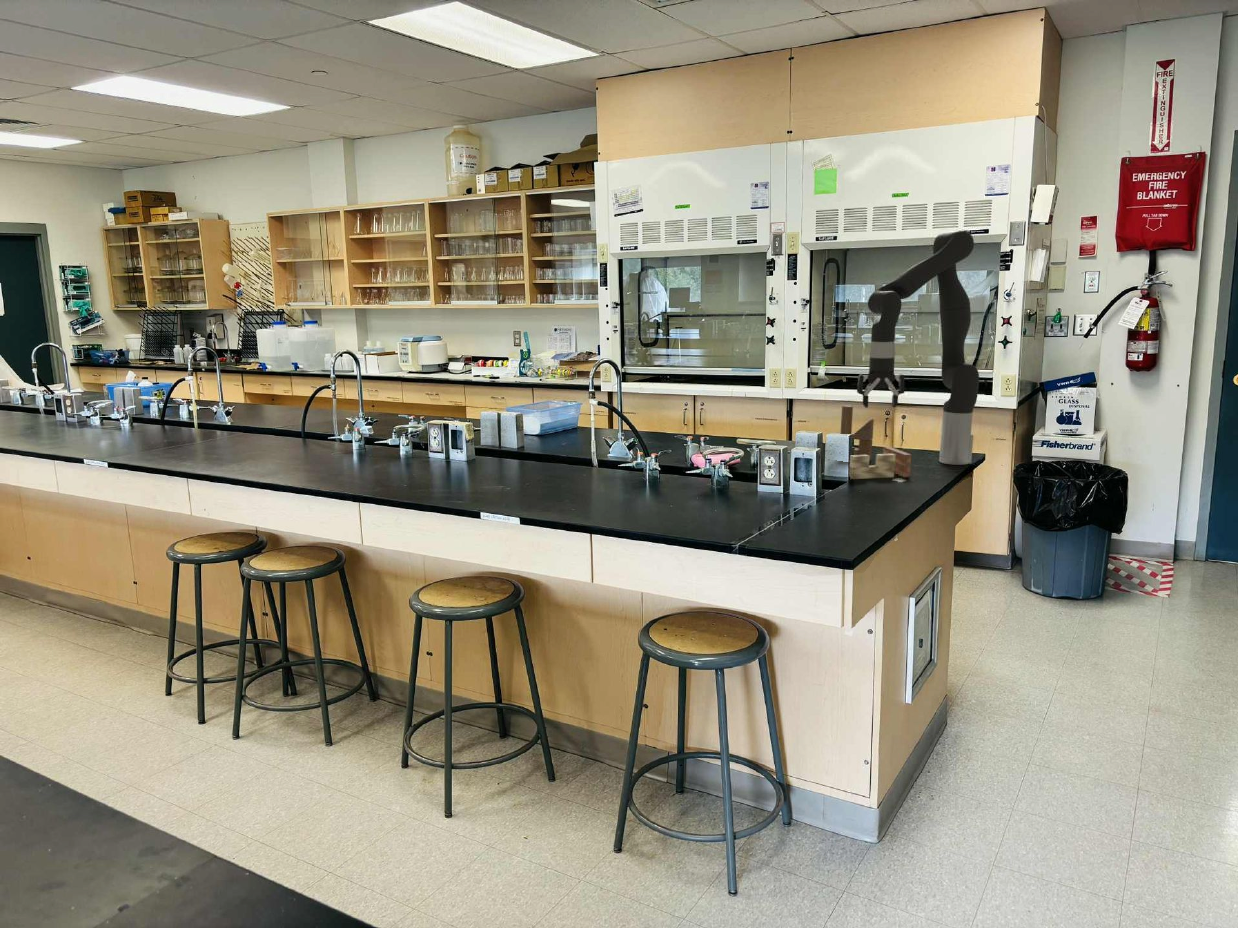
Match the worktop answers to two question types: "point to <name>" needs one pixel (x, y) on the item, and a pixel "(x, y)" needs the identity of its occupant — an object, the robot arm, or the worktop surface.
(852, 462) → the maple plate
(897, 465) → the cherry plate
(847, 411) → the wooden block
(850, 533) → the worktop surface
